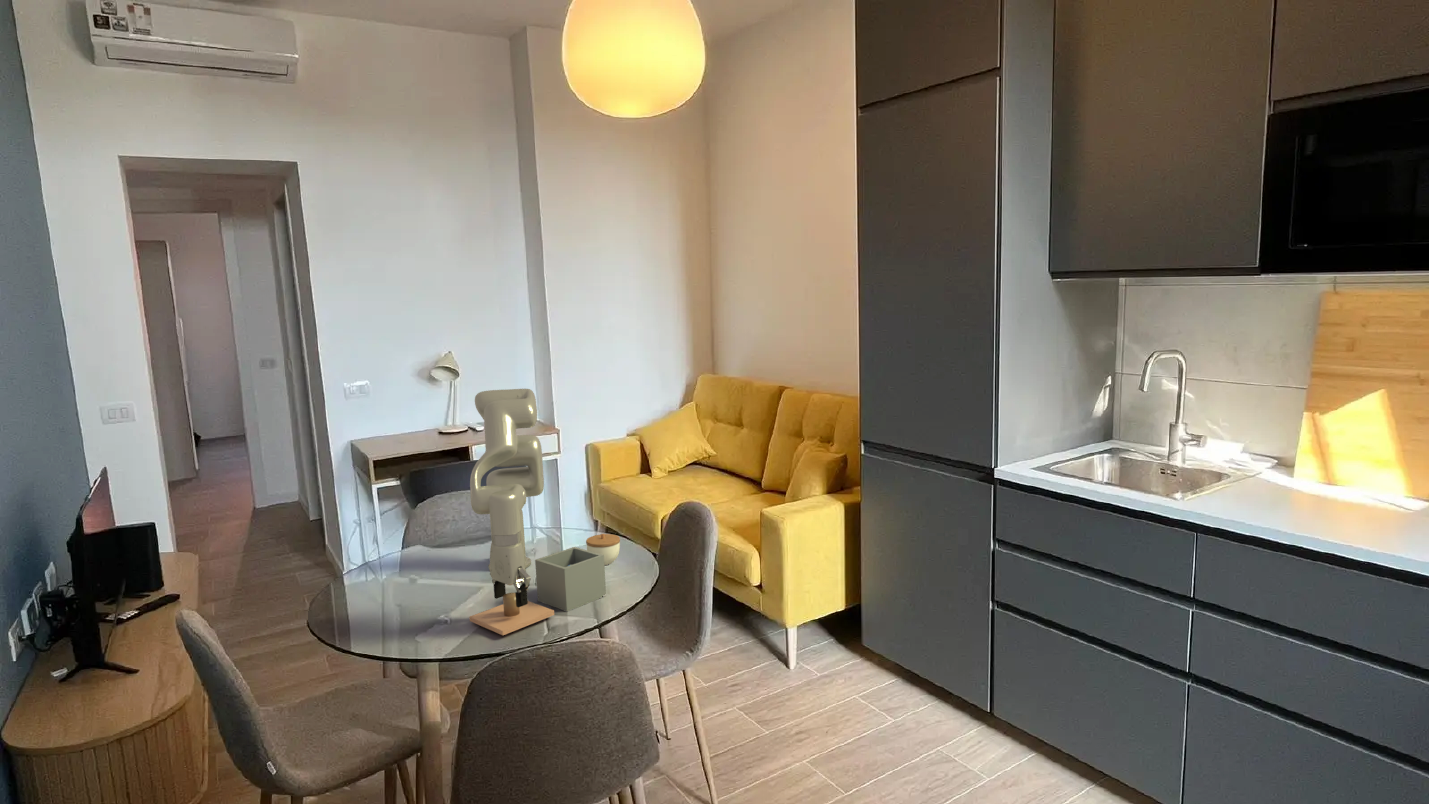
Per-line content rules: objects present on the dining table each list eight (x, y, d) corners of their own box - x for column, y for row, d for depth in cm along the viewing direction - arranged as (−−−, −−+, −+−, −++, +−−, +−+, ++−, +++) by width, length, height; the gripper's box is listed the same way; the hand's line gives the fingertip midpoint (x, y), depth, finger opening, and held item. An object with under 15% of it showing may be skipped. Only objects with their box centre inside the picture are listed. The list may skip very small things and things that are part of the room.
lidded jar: (627, 559, 257) (626, 531, 255) (606, 570, 248) (604, 540, 246) (602, 555, 262) (600, 527, 261) (580, 564, 253) (578, 536, 252)
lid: (470, 624, 209) (467, 598, 208) (520, 605, 221) (519, 580, 220) (503, 639, 200) (501, 611, 199) (554, 618, 211) (552, 592, 210)
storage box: (537, 600, 224) (535, 559, 223) (576, 586, 235) (574, 546, 233) (567, 611, 216) (564, 569, 214) (606, 595, 226) (603, 555, 225)
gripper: (475, 536, 210) (480, 598, 212) (514, 548, 199) (518, 613, 201) (499, 529, 216) (504, 589, 218) (538, 540, 204) (542, 604, 207)
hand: (511, 601), depth 210 cm, fingers open, 9 cm apart
